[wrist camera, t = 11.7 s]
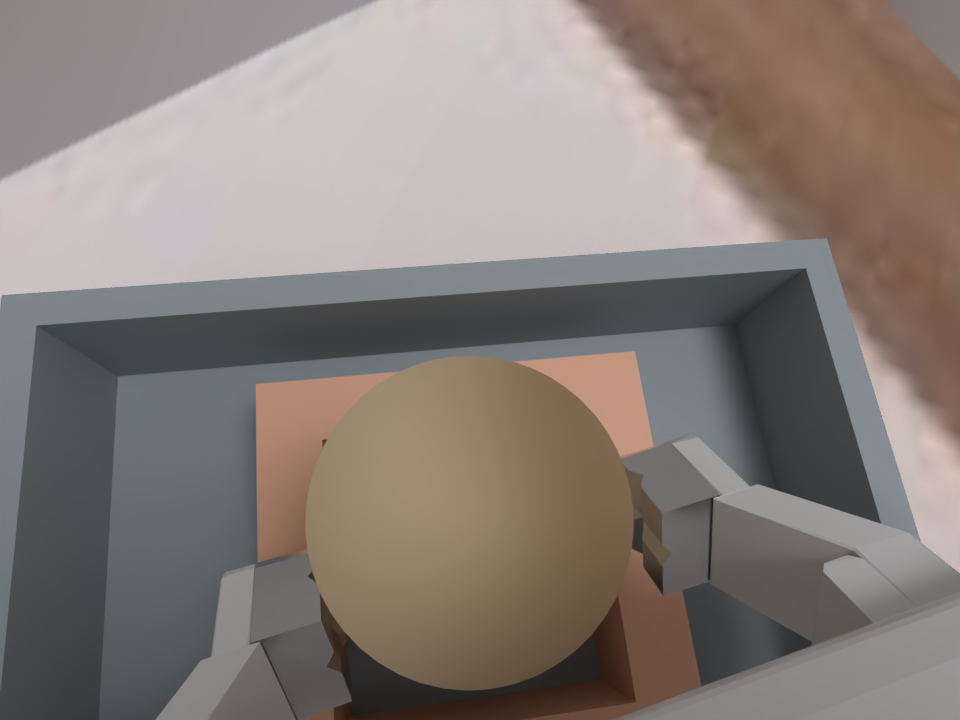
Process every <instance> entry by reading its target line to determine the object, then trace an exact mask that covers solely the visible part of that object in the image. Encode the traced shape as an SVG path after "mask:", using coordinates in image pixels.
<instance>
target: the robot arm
mask: <svg viewBox="0 0 960 720" xmlns="http://www.w3.org/2000/svg"><path fill="white" fill-rule="evenodd" d="M620 458H621V460H622V463H623V465H624V468H625V471H626V475H627V478H628V482H629V486H630V490H631V497H632V504H633V529H634V532H633V541H632V549H633V550H635V551H637V552H640V553H642V554H643V567H644V569H645V570H646V572H647V573H648V574H649V576H650V577H651V579H652V580H653V582H654V583H655V585H656V586H657V588H658V589H659V590H660V592H661V593H662V595H663V596H664V595H668V594H671V593H674V592H677V591H681V590H684V589H687V588H690V587H694V586H697V585H700V584H704V583H707V582H710V584H711V585H713V586H715V587H716V588H718V589H720V590H722V591H723V592H725V593H727V594H729V595H730V596H732V597H734V598H736V599H737V600H739V601H741V602H743V603H744V604H746V605H748V606H750V607H752V608H753V609H755V610H757V611H759V612H760V613H762V614H764V615H766V616H767V617H769V618H771V619H773V620H774V621H776V622H778V623H780V624H782V625H783V626H785V627H787V628H789V629H790V630H792V631H794V632H796V633H797V634H799V635H801V636H803V637H804V638H806V639H808V640H810V641H811V642H812V645H811V646H810V647H807V648H804V649H802V650H799V651H796V652H793V653H791V654H788V655H785V656H783V657H780V658H777V659H774V660H772V661H769V662H766V663H764V664H761V665H758V666H755V667H753V668H750V669H747V670H745V671H742V672H739V673H736V674H734V675H731V676H728V677H726V678H723V679H720V680H717V681H715V682H712V683H709V684H707V685H704V686H701V687H699V688H696V689H693V690H690V691H688V692H685V693H682V694H680V695H677V696H674V697H671V698H669V699H666V700H663V701H661V702H658V703H655V704H652V705H650V706H647V707H644V708H642V709H639V710H636V711H633V712H631V713H628V714H625V715H622V716H620V717H617V718H614V719H612V720H960V573H958V572H957V571H956V570H955V569H953V568H952V567H951V566H950V565H948V564H947V563H946V562H945V561H943V560H942V559H941V558H940V557H938V556H937V555H936V554H935V553H933V552H932V551H931V550H930V549H928V548H927V547H926V546H925V545H923V544H922V543H921V542H919V541H918V540H917V539H916V538H914V537H913V536H912V535H911V534H909V533H908V532H905V531H902V530H899V529H896V528H893V527H889V526H886V525H883V524H880V523H877V522H874V521H871V520H868V519H865V518H861V517H858V516H855V515H852V514H849V513H846V512H843V511H840V510H837V509H833V508H830V507H827V506H824V505H821V504H818V503H815V502H812V501H809V500H805V499H802V498H799V497H796V496H793V495H790V494H787V493H784V492H781V491H777V490H774V489H771V488H768V487H765V486H762V485H759V484H757V485H754V486H751V487H750V486H749V485H748V484H747V483H746V482H745V481H744V480H743V479H742V478H741V477H740V476H739V475H738V474H736V473H735V472H734V471H733V470H732V469H731V468H730V467H729V466H728V465H727V464H726V463H725V462H724V461H723V460H722V459H721V458H720V457H719V456H717V455H716V454H715V453H714V452H713V451H712V450H711V449H710V448H709V447H708V446H707V445H706V444H705V443H704V442H703V441H702V440H701V439H700V438H699V437H697V436H695V435H693V434H689V435H686V436H683V437H680V438H677V439H674V440H671V441H668V442H665V443H664V444H660V445H656V446H653V447H650V448H647V449H643V450H640V451H637V452H633V453H630V454H627V455H624V456H620ZM346 641H347V637H346V633H345V632H344V631H343V629H342V628H341V627H340V625H339V624H338V622H337V621H336V620H335V618H334V617H333V615H332V614H331V613H330V611H329V609H328V607H327V605H326V603H325V601H324V599H323V598H322V596H321V594H320V592H319V589H318V586H317V583H316V581H315V578H314V575H313V573H312V569H311V564H310V560H309V556H308V551H307V549H306V550H302V551H298V552H295V553H291V554H287V555H284V556H280V557H276V558H273V559H269V560H265V561H262V562H258V563H257V564H253V565H249V566H245V567H242V568H238V569H234V570H231V571H227V572H225V574H224V575H223V577H222V579H221V583H220V590H219V598H218V606H217V614H216V622H215V629H214V637H213V645H212V653H211V657H210V658H207V659H203V660H201V661H200V662H199V664H198V665H197V666H196V668H195V669H194V670H193V671H192V673H191V674H190V675H189V677H188V678H187V679H186V681H185V682H184V683H183V684H182V686H181V687H180V688H179V690H178V691H177V692H176V694H175V695H174V696H173V697H172V699H171V700H170V701H169V703H168V704H167V705H166V707H165V708H164V709H163V711H162V712H161V713H160V714H159V716H158V717H157V718H156V720H303V719H305V718H308V717H311V716H313V715H316V714H319V713H322V712H324V711H327V710H330V709H332V708H335V707H338V706H341V705H343V704H346V703H349V702H351V701H352V690H351V679H350V668H349V662H348V659H347V657H346V654H345V651H344V648H343V646H344V644H345V643H346Z"/></svg>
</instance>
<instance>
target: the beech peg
mask: <svg viewBox="0 0 960 720" xmlns="http://www.w3.org/2000/svg"><path fill="white" fill-rule="evenodd" d="M305 531H306V542H307V551H308V556H309V560H310V564H311V569H312V573H313V575H314V578H315V581H316V583H317V586H318V589H319V592H320V594H321V596H322V598H323V599H324V601H325V603H326V605H327V607H328V609H329V611H330V613H331V614H332V615H333V617H334V618H335V620H336V621H337V622H338V624H339V625H340V627H341V628H342V629H343V631H344V632H345V633H346V634H347V635H348V636H349V637H350V638H351V639H352V640H353V641H354V642H355V643H356V644H357V645H358V647H359V648H360V649H362V650H363V651H364V652H366V653H367V654H368V655H369V656H371V657H372V658H373V659H374V660H376V661H377V662H378V663H380V664H382V665H383V666H385V667H387V668H389V669H390V670H392V671H394V672H396V673H397V674H399V675H402V676H404V677H407V678H409V679H412V680H414V681H417V682H419V683H422V684H427V685H431V686H435V687H440V688H444V689H455V690H468V691H469V690H484V689H494V688H498V687H503V686H508V685H512V684H516V683H519V682H521V681H524V680H527V679H529V678H532V677H535V676H537V675H539V674H541V673H543V672H545V671H546V670H548V669H550V668H552V667H554V666H555V665H557V664H559V663H560V662H561V661H563V660H564V659H565V658H567V657H568V656H569V655H571V654H572V653H573V652H575V651H576V650H577V649H578V648H579V647H580V646H581V645H582V644H583V643H584V642H585V641H586V640H587V639H588V638H589V637H590V636H591V635H592V634H593V633H594V631H595V630H596V629H597V627H598V626H599V625H600V623H601V622H602V621H603V619H604V618H605V617H606V615H607V613H608V612H609V610H610V608H611V606H612V605H613V603H614V601H615V599H616V597H617V595H618V593H619V590H620V588H621V585H622V583H623V580H624V578H625V575H626V571H627V567H628V563H629V559H630V555H631V549H632V541H633V532H634V529H633V504H632V497H631V490H630V486H629V482H628V478H627V475H626V471H625V468H624V465H623V463H622V460H621V458H620V455H619V453H618V451H617V448H616V447H615V445H614V443H613V441H612V439H611V438H610V436H609V434H608V432H607V431H606V429H605V428H604V427H603V425H602V424H601V422H600V421H599V420H598V418H597V417H596V416H595V414H594V413H593V412H592V411H591V410H590V409H589V408H588V407H587V406H586V405H585V404H584V403H583V402H582V401H581V400H580V399H579V398H578V397H577V396H576V395H574V394H573V393H572V392H571V391H569V390H568V389H567V388H566V387H565V386H563V385H561V384H560V383H558V382H557V381H555V380H554V379H552V378H550V377H549V376H547V375H545V374H543V373H541V372H539V371H537V370H534V369H532V368H530V367H527V366H524V365H521V364H518V363H515V362H512V361H508V360H503V359H498V358H493V357H482V356H454V357H447V358H441V359H435V360H431V361H428V362H424V363H421V364H417V365H414V366H412V367H410V368H407V369H405V370H403V371H400V372H398V373H396V374H394V375H393V376H391V377H389V378H387V379H386V380H384V381H382V382H381V383H379V384H378V385H376V386H375V387H374V388H372V389H371V390H370V391H368V392H367V393H366V394H365V395H363V396H362V397H361V398H360V399H359V400H358V401H357V402H356V403H355V404H354V405H353V406H352V407H351V408H350V409H349V410H348V411H347V412H346V414H345V415H344V416H343V417H342V419H341V420H340V421H339V422H338V424H337V425H336V426H335V428H334V430H333V431H332V433H331V435H330V436H329V438H328V439H327V441H326V443H325V445H324V447H323V449H322V451H321V453H320V456H319V458H318V460H317V462H316V465H315V468H314V472H313V475H312V478H311V481H310V486H309V491H308V497H307V503H306V519H305Z"/></svg>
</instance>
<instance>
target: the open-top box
mask: <svg viewBox="0 0 960 720" xmlns="http://www.w3.org/2000/svg"><path fill="white" fill-rule="evenodd" d="M454 356H482V357H493V358H498V359H503V360H508V361H512V362H515V363H518V364H521V365H524V366H527V367H530V368H532V369H534V370H537V371H539V372H541V373H543V374H545V375H547V376H549V377H550V378H552V379H554V380H555V381H557V382H558V383H560V384H561V385H563V386H565V387H566V388H567V389H568V390H569V391H571V392H572V393H573V394H574V395H576V396H577V397H578V398H579V399H580V400H581V401H582V402H583V403H584V404H585V405H586V406H587V407H588V408H589V409H590V410H591V411H592V412H593V413H594V414H595V416H596V417H597V418H598V420H599V421H600V422H601V424H602V425H603V427H604V428H605V429H606V431H607V432H608V434H609V436H610V438H611V439H612V441H613V443H614V445H615V447H616V448H617V451H618V453H619V455H620V456H624V455H627V454H630V453H633V452H637V451H640V450H643V449H647V448H650V447H653V446H656V445H660V444H664V443H665V442H668V441H671V440H674V439H677V438H680V437H683V436H686V435H689V434H693V435H695V436H697V437H699V438H700V439H701V440H702V441H703V442H704V443H705V444H706V445H707V446H708V447H709V448H710V449H711V450H712V451H713V452H714V453H715V454H716V455H717V456H719V457H720V458H721V459H722V460H723V461H724V462H725V463H726V464H727V465H728V466H729V467H730V468H731V469H732V470H733V471H734V472H735V473H736V474H738V475H739V476H740V477H741V478H742V479H743V480H744V481H745V482H746V483H747V484H748V485H749V486H750V487H751V486H754V485H757V484H759V485H762V486H765V487H768V488H771V489H774V490H777V491H781V492H784V493H787V494H790V495H793V496H796V497H799V498H802V499H805V500H809V501H812V502H815V503H818V504H821V505H824V506H827V507H830V508H833V509H837V510H840V511H843V512H846V513H849V514H852V515H855V516H858V517H861V518H865V519H868V520H871V521H874V522H877V523H880V524H883V525H886V526H889V527H893V528H896V529H899V530H902V531H905V532H908V533H909V534H911V535H912V536H913V537H914V538H916V539H917V540H918V541H919V542H921V541H920V538H919V535H918V532H917V528H916V525H915V522H914V519H913V515H912V512H911V509H910V506H909V502H908V499H907V496H906V493H905V490H904V486H903V483H902V480H901V477H900V473H899V470H898V467H897V464H896V461H895V457H894V454H893V451H892V448H891V444H890V441H889V438H888V435H887V432H886V428H885V425H884V422H883V419H882V415H881V412H880V409H879V406H878V403H877V399H876V396H875V393H874V390H873V386H872V383H871V380H870V377H869V374H868V370H867V367H866V364H865V361H864V357H863V354H862V351H861V348H860V344H859V341H858V338H857V335H856V332H855V328H854V325H853V322H852V319H851V315H850V312H849V309H848V306H847V303H846V299H845V296H844V293H843V290H842V286H841V283H840V280H839V277H838V274H837V270H836V267H835V264H834V261H833V257H832V254H831V251H830V248H829V245H828V241H827V238H823V239H809V240H794V241H780V242H765V243H751V244H737V245H722V246H708V247H693V248H679V249H664V250H650V251H635V252H621V253H606V254H592V255H577V256H563V257H549V258H534V259H520V260H505V261H491V262H476V263H462V264H447V265H433V266H418V267H404V268H389V269H375V270H360V271H346V272H332V273H317V274H303V275H288V276H274V277H259V278H245V279H230V280H216V281H201V282H187V283H172V284H158V285H144V286H129V287H115V288H100V289H86V290H71V291H57V292H42V293H28V294H13V295H2V298H1V307H0V720H156V718H157V717H158V716H159V714H160V713H161V712H162V711H163V709H164V708H165V707H166V705H167V704H168V703H169V701H170V700H171V699H172V697H173V696H174V695H175V694H176V692H177V691H178V690H179V688H180V687H181V686H182V684H183V683H184V682H185V681H186V679H187V678H188V677H189V675H190V674H191V673H192V671H193V670H194V669H195V668H196V666H197V665H198V664H199V662H200V661H201V660H203V659H207V658H210V657H211V653H212V645H213V637H214V629H215V622H216V614H217V606H218V598H219V590H220V583H221V579H222V577H223V575H224V574H225V572H227V571H231V570H234V569H238V568H242V567H245V566H249V565H253V564H257V563H258V562H262V561H265V560H269V559H273V558H276V557H280V556H284V555H287V554H291V553H295V552H298V551H302V550H306V549H307V542H306V531H305V519H306V503H307V497H308V491H309V486H310V481H311V478H312V475H313V472H314V468H315V465H316V462H317V460H318V458H319V456H320V453H321V451H322V449H323V447H324V445H325V443H326V441H327V439H328V438H329V436H330V435H331V433H332V431H333V430H334V428H335V426H336V425H337V424H338V422H339V421H340V420H341V419H342V417H343V416H344V415H345V414H346V412H347V411H348V410H349V409H350V408H351V407H352V406H353V405H354V404H355V403H356V402H357V401H358V400H359V399H360V398H361V397H362V396H363V395H365V394H366V393H367V392H368V391H370V390H371V389H372V388H374V387H375V386H376V385H378V384H379V383H381V382H382V381H384V380H386V379H387V378H389V377H391V376H393V375H394V374H396V373H398V372H400V371H403V370H405V369H407V368H410V367H412V366H414V365H417V364H421V363H424V362H428V361H431V360H435V359H441V358H447V357H454ZM346 637H347V641H346V643H345V644H344V646H343V648H344V651H345V654H346V657H347V659H348V662H349V668H350V679H351V690H352V701H351V702H349V703H346V704H343V705H341V706H338V707H335V708H332V709H330V710H327V711H324V712H322V713H319V714H316V715H313V716H311V717H308V718H305V719H303V720H612V719H614V718H617V717H620V716H622V715H625V714H628V713H631V712H633V711H636V710H639V709H642V708H644V707H647V706H650V705H652V704H655V703H658V702H661V701H663V700H666V699H669V698H671V697H674V696H677V695H680V694H682V693H685V692H688V691H690V690H693V689H696V688H699V687H701V686H704V685H707V684H709V683H712V682H715V681H717V680H720V679H723V678H726V677H728V676H731V675H734V674H736V673H739V672H742V671H745V670H747V669H750V668H753V667H755V666H758V665H761V664H764V663H766V662H769V661H772V660H774V659H777V658H780V657H783V656H785V655H788V654H791V653H793V652H796V651H799V650H802V649H804V648H807V647H810V646H811V645H812V642H811V641H810V640H808V639H806V638H804V637H803V636H801V635H799V634H797V633H796V632H794V631H792V630H790V629H789V628H787V627H785V626H783V625H782V624H780V623H778V622H776V621H774V620H773V619H771V618H769V617H767V616H766V615H764V614H762V613H760V612H759V611H757V610H755V609H753V608H752V607H750V606H748V605H746V604H744V603H743V602H741V601H739V600H737V599H736V598H734V597H732V596H730V595H729V594H727V593H725V592H723V591H722V590H720V589H718V588H716V587H715V586H713V585H711V584H710V582H707V583H704V584H700V585H697V586H694V587H690V588H687V589H684V590H681V591H677V592H674V593H671V594H668V595H664V596H663V595H662V593H661V592H660V590H659V589H658V588H657V586H656V585H655V583H654V582H653V580H652V579H651V577H650V576H649V574H648V573H647V572H646V570H645V569H644V567H643V554H642V553H640V552H637V551H635V550H633V549H631V555H630V559H629V563H628V567H627V571H626V575H625V578H624V580H623V583H622V585H621V588H620V590H619V593H618V595H617V597H616V599H615V601H614V603H613V605H612V606H611V608H610V610H609V612H608V613H607V615H606V617H605V618H604V619H603V621H602V622H601V623H600V625H599V626H598V627H597V629H596V630H595V631H594V633H593V634H592V635H591V636H590V637H589V638H588V639H587V640H586V641H585V642H584V643H583V644H582V645H581V646H580V647H579V648H578V649H577V650H576V651H575V652H573V653H572V654H571V655H569V656H568V657H567V658H565V659H564V660H563V661H561V662H560V663H559V664H557V665H555V666H554V667H552V668H550V669H548V670H546V671H545V672H543V673H541V674H539V675H537V676H535V677H532V678H529V679H527V680H524V681H521V682H519V683H516V684H512V685H508V686H503V687H498V688H494V689H484V690H469V691H468V690H455V689H444V688H440V687H435V686H431V685H427V684H422V683H419V682H417V681H414V680H412V679H409V678H407V677H404V676H402V675H399V674H397V673H396V672H394V671H392V670H390V669H389V668H387V667H385V666H383V665H382V664H380V663H378V662H377V661H376V660H374V659H373V658H372V657H371V656H369V655H368V654H367V653H366V652H364V651H363V650H362V649H360V648H359V647H358V645H357V644H356V643H355V642H354V641H353V640H352V639H351V638H350V637H349V636H348V635H347V634H346Z"/></svg>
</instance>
